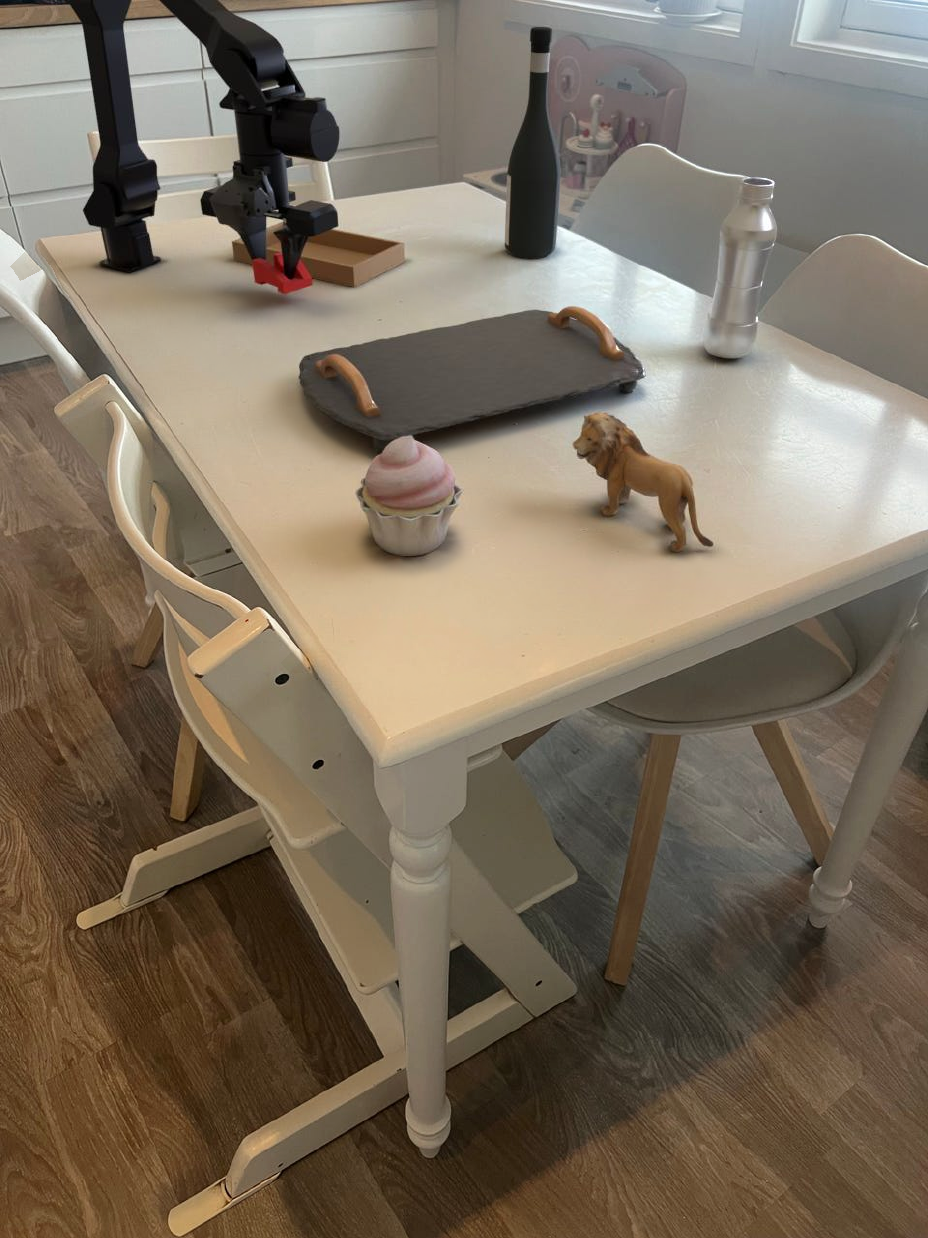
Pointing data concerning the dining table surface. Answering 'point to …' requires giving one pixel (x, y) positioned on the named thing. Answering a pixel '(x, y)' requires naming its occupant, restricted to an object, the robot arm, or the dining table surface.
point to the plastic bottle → (741, 271)
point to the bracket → (280, 275)
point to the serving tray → (466, 372)
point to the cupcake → (409, 497)
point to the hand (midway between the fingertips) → (275, 275)
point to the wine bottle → (534, 165)
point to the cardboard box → (336, 255)
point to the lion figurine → (637, 473)
